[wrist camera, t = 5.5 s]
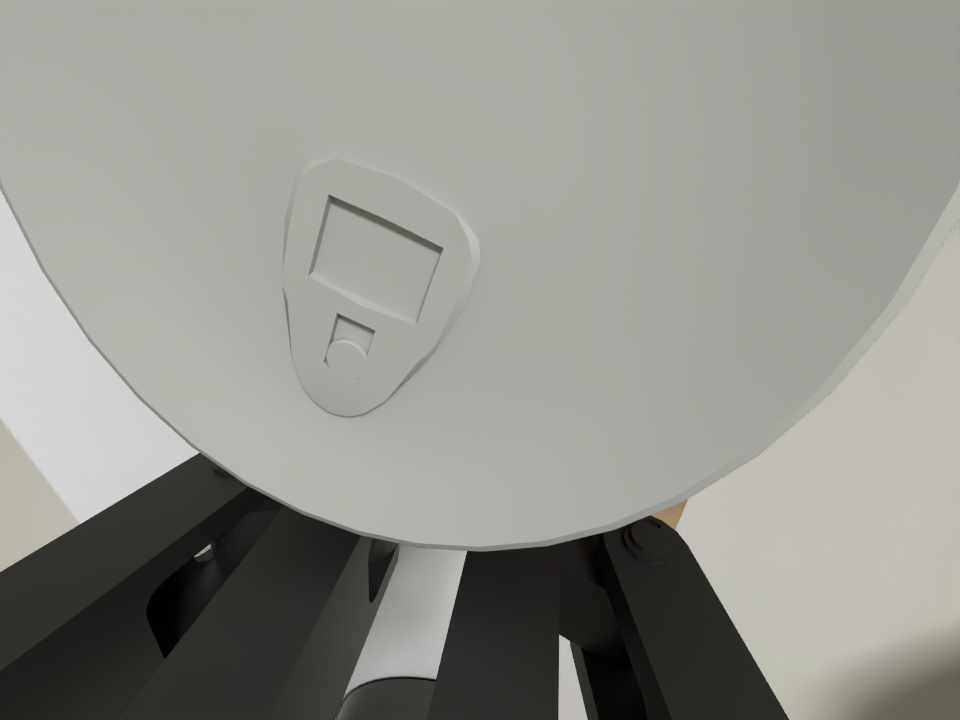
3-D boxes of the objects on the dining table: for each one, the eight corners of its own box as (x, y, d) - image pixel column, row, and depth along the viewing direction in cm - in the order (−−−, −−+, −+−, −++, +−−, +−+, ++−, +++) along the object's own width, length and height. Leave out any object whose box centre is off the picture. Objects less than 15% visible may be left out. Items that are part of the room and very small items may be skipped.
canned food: (394, 270, 15) (91, 482, 5) (405, -20, 11) (-472, -1000, 2) (611, 308, 14) (720, 633, 5) (695, 12, 11) (2003, -1362, 1)
